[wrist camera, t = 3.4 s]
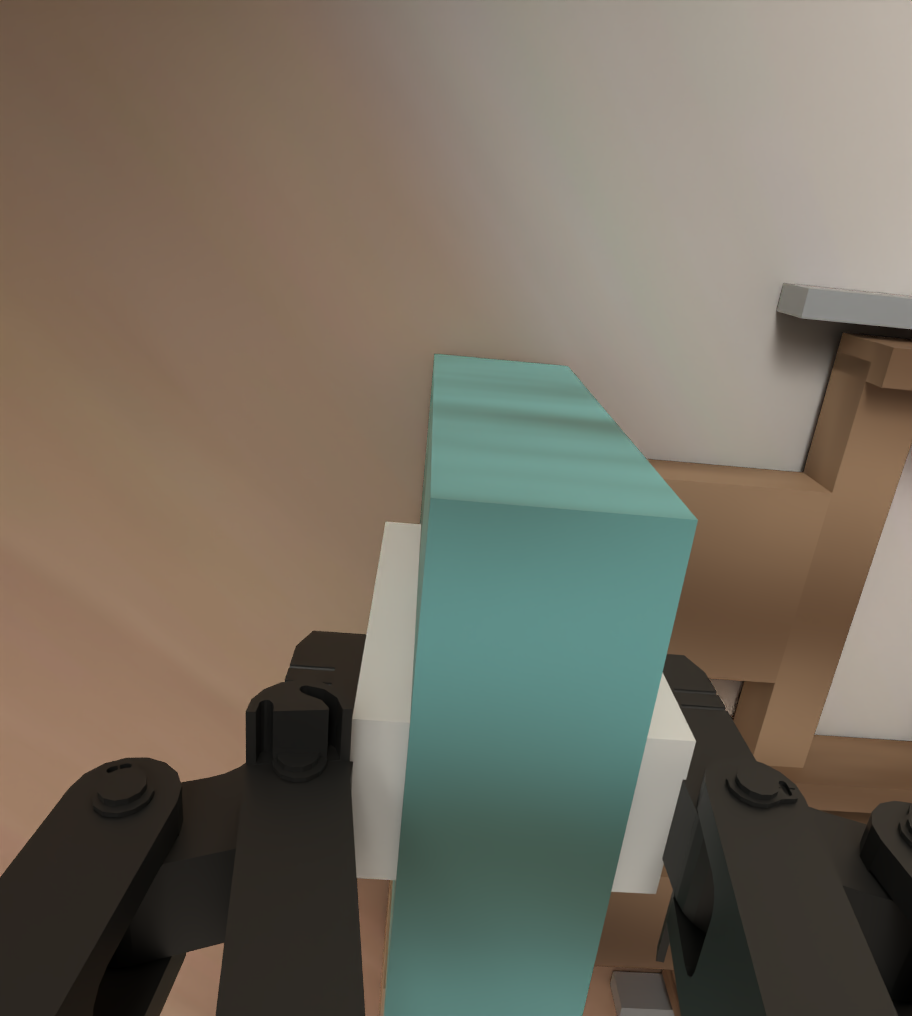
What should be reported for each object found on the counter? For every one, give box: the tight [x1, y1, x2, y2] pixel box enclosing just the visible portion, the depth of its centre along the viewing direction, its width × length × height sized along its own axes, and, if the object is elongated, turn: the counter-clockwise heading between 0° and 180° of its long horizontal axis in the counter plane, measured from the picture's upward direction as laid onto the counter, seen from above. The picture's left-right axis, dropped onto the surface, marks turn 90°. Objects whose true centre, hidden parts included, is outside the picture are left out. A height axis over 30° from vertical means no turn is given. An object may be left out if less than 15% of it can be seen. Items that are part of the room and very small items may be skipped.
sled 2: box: [379, 810, 871, 1016], centre depth 20 cm, size 8×26×6 cm, turn 84°
